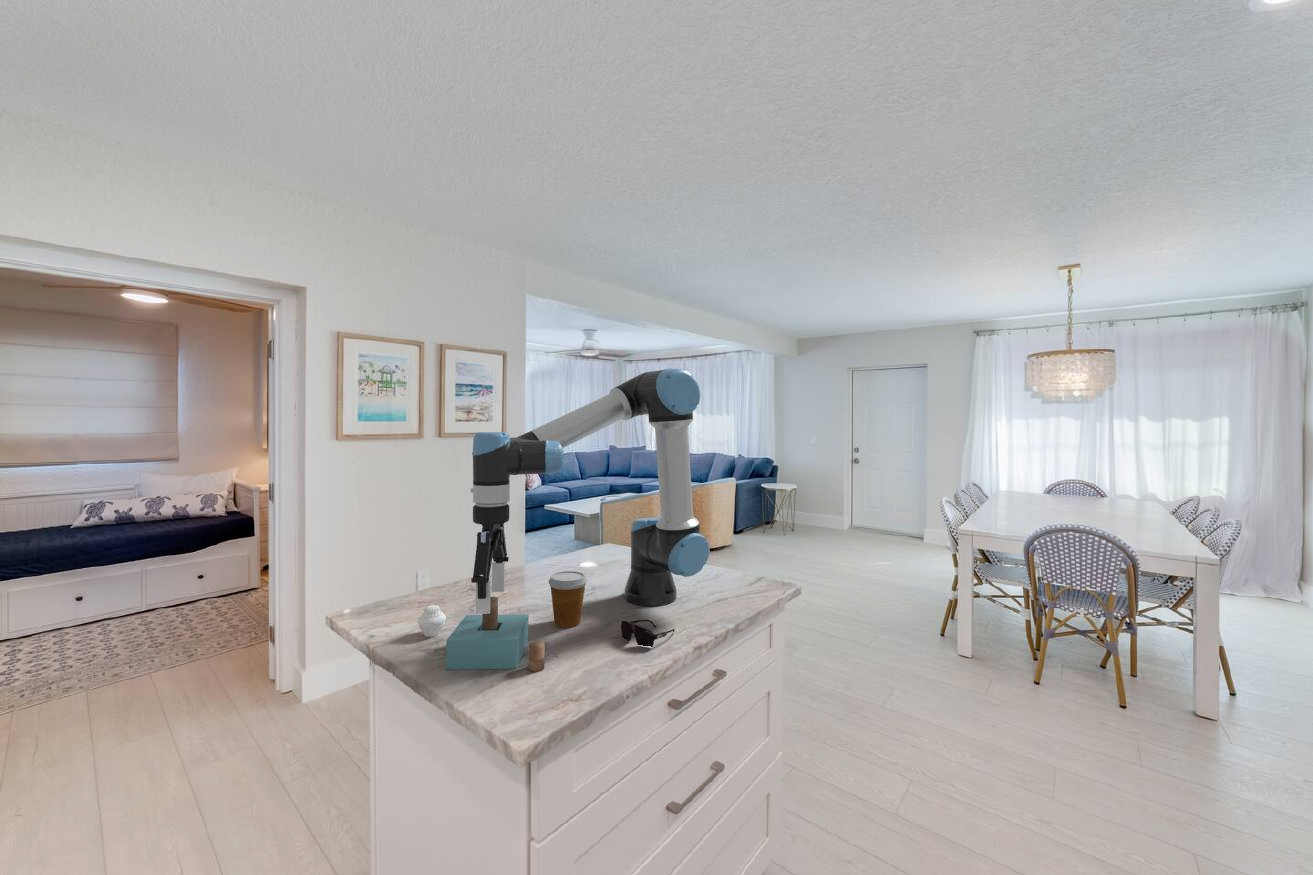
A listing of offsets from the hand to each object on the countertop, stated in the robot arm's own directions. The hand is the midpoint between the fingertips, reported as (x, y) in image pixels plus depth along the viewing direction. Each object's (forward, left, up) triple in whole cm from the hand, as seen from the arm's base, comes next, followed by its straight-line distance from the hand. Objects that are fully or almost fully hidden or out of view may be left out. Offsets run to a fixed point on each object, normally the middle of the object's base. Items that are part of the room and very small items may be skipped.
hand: (491, 601), depth 113 cm
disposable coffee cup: (-15, -17, -12) cm, 25 cm away
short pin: (-11, +7, -11) cm, 17 cm away
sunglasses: (-35, -8, -12) cm, 38 cm away
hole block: (0, 0, -11) cm, 11 cm away
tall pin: (0, 0, -11) cm, 11 cm away
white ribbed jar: (+16, -11, -12) cm, 23 cm away
